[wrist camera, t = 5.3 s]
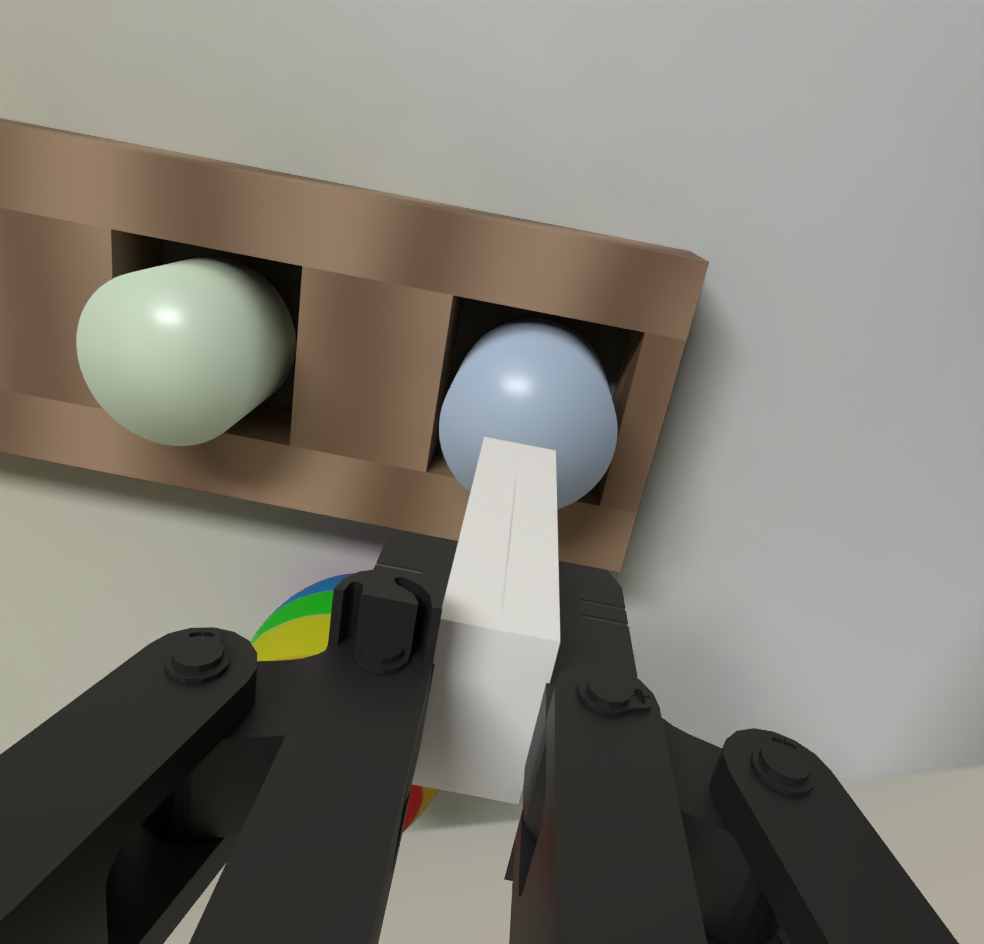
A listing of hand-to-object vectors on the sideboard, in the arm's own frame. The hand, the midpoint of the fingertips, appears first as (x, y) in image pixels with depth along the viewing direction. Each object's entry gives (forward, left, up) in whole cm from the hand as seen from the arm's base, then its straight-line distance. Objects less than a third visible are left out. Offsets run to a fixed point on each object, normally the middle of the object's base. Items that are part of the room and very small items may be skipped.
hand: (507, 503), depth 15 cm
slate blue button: (0, 0, -8) cm, 8 cm away
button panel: (+10, 0, -10) cm, 14 cm away
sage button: (+10, 0, -8) cm, 13 cm away
